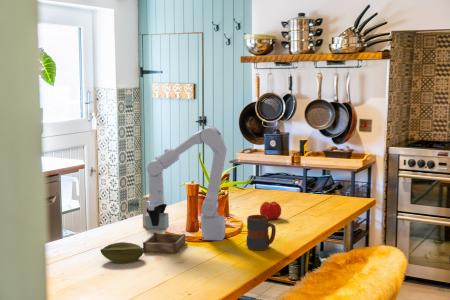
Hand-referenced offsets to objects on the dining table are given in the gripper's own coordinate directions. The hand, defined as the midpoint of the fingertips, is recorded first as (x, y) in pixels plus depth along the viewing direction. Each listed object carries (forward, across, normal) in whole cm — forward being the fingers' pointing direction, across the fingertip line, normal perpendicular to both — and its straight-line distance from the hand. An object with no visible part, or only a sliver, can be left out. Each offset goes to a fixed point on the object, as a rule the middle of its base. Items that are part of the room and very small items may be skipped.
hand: (157, 224), depth 236 cm
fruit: (+6, +30, -3) cm, 31 cm away
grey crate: (+2, 0, 0) cm, 2 cm away
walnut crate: (+6, +13, +7) cm, 16 cm away
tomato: (+6, -37, +41) cm, 55 cm away
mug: (+6, +8, +43) cm, 44 cm away
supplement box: (+6, -19, -9) cm, 22 cm away
